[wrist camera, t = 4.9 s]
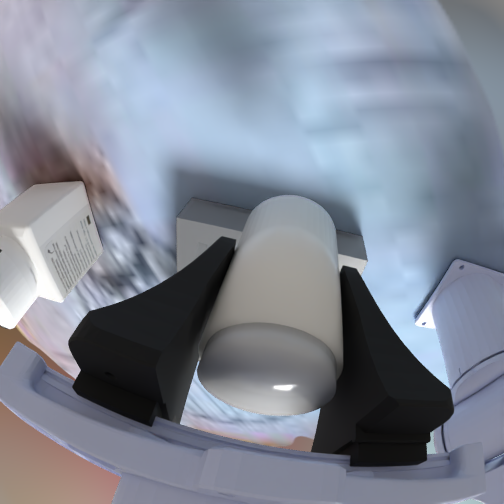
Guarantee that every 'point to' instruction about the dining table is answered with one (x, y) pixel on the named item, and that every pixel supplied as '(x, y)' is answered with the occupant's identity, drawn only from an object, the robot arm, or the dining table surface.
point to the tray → (232, 224)
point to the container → (44, 246)
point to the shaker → (277, 314)
